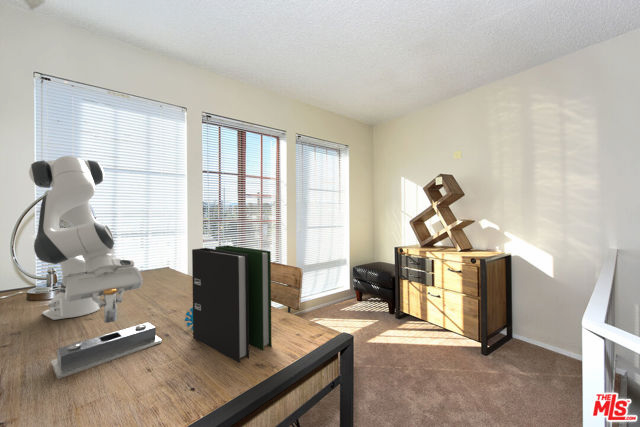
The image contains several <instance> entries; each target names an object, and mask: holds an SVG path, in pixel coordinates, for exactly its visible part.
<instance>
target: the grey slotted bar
mask: <svg viewBox="0 0 640 427" xmlns="http://www.w3.org/2000/svg"><path fill="white" fill-rule="evenodd" d="M156 328H157V327H156V326H154V325H153V323H150V322H144V323H141V324H137V325H134V326H130V327H127V328H123V329H120V330H117V331H114V332H109V333H107V334H102V335H99V336H96V337H92V338H89V339H85V340H82V341H78V342H76V343H71V344H68V345H65V346H61V347H57V349H56V350H57V351H56V354H57V355H56V358H55V359H52V360H51V367H52V369H53V371H54V374H55V376H56V379H57V380H59V379H62V378H65V377H69V376H71V375H73V374H77V373H79V372H82V371H86V370H88V369H90V368H94V367H96V366H99V365H102V364H105V363H108V362H111V361H114V360H115V359H116V360H117V359H118V358H121V357H124V356H128V355H131V354H133V353H136V352H139V351H142V350H144V349H147V348H151V347H152V346H153V347H154V346H155V345H158V344H162V343H163V341H162V338H160V337H159V336H157V330H156Z"/></svg>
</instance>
